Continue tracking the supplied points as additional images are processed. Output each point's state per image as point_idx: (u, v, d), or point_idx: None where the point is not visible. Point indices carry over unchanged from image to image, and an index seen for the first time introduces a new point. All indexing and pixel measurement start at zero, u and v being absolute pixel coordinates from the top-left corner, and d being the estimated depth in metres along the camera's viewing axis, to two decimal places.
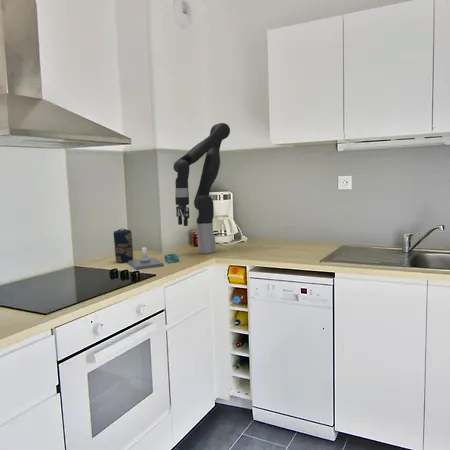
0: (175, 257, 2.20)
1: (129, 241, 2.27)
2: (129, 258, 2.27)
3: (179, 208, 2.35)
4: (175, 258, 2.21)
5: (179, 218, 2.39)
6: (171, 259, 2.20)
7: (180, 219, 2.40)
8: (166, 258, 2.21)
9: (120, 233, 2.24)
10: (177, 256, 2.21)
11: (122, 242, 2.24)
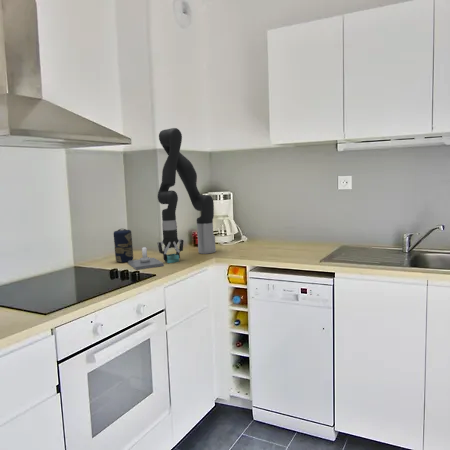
0: (175, 257, 2.20)
1: (129, 241, 2.27)
2: (129, 258, 2.27)
3: (169, 241, 2.20)
4: (175, 258, 2.21)
5: None
6: (171, 259, 2.20)
7: None
8: None
9: (120, 233, 2.24)
10: (177, 256, 2.21)
11: (122, 242, 2.24)
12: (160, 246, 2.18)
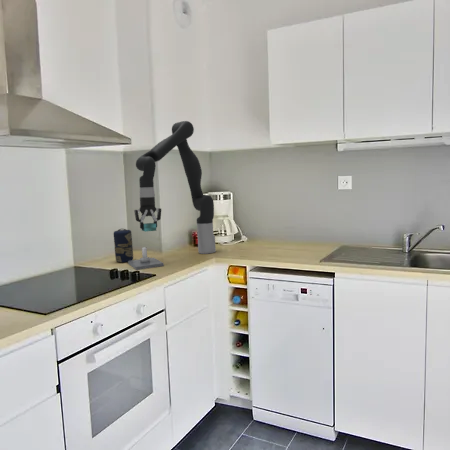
0: (152, 226, 2.14)
1: (129, 241, 2.27)
2: (129, 258, 2.27)
3: (146, 209, 2.14)
4: (152, 227, 2.14)
5: None
6: (148, 227, 2.13)
7: None
8: None
9: (120, 233, 2.24)
10: (154, 225, 2.15)
11: (122, 242, 2.24)
12: (137, 214, 2.12)
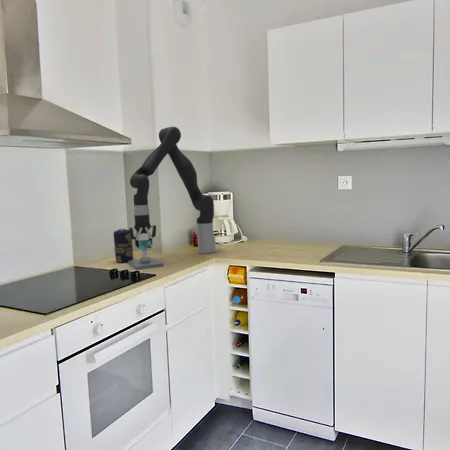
0: (147, 243, 2.14)
1: (129, 241, 2.27)
2: (129, 258, 2.27)
3: (141, 227, 2.14)
4: (147, 244, 2.14)
5: None
6: (143, 245, 2.13)
7: None
8: None
9: (120, 233, 2.24)
10: (149, 242, 2.15)
11: (122, 242, 2.24)
12: (131, 231, 2.12)
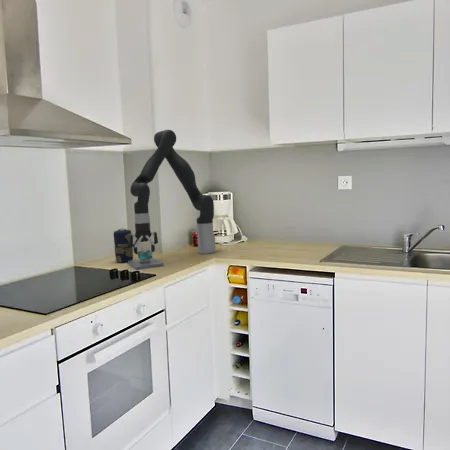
0: (148, 253, 2.15)
1: (129, 241, 2.27)
2: (129, 258, 2.27)
3: (142, 235, 2.14)
4: (148, 254, 2.15)
5: (136, 247, 2.15)
6: (144, 255, 2.14)
7: None
8: (139, 255, 2.16)
9: (120, 233, 2.24)
10: (150, 252, 2.15)
11: (122, 242, 2.24)
12: (131, 238, 2.12)
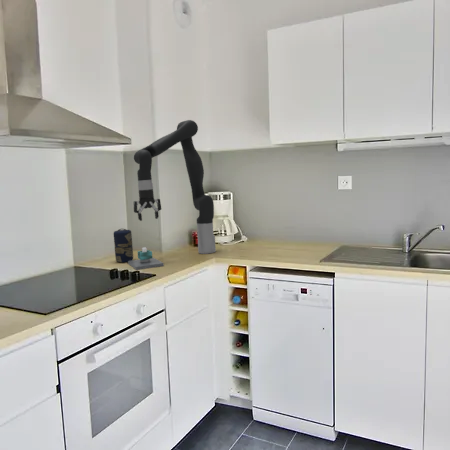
0: (148, 253, 2.15)
1: (129, 241, 2.27)
2: (129, 258, 2.27)
3: (146, 202, 2.20)
4: (148, 254, 2.15)
5: None
6: (144, 255, 2.14)
7: None
8: (139, 255, 2.16)
9: (120, 233, 2.24)
10: (150, 252, 2.15)
11: (122, 242, 2.24)
12: (135, 205, 2.18)
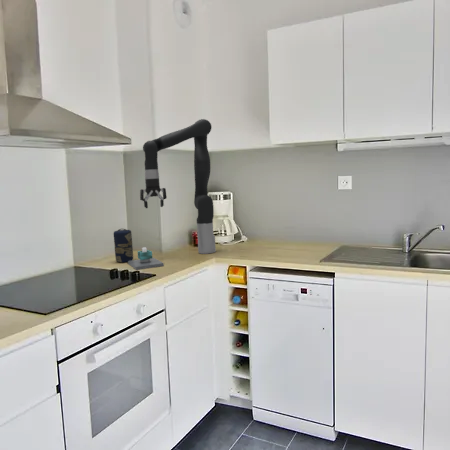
0: (148, 253, 2.15)
1: (129, 241, 2.27)
2: (129, 258, 2.27)
3: (152, 190, 2.30)
4: (148, 254, 2.15)
5: None
6: (144, 255, 2.14)
7: None
8: (139, 255, 2.16)
9: (120, 233, 2.24)
10: (150, 252, 2.15)
11: (122, 242, 2.24)
12: (142, 193, 2.28)
